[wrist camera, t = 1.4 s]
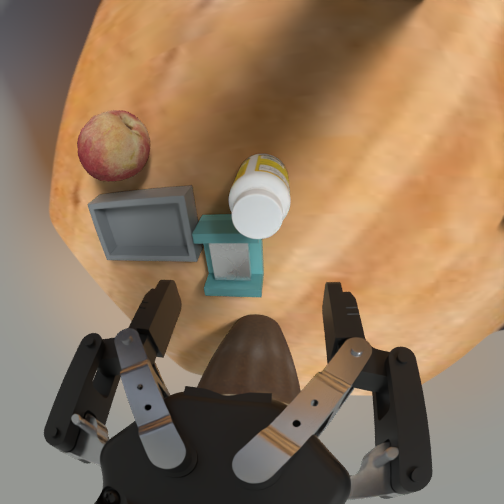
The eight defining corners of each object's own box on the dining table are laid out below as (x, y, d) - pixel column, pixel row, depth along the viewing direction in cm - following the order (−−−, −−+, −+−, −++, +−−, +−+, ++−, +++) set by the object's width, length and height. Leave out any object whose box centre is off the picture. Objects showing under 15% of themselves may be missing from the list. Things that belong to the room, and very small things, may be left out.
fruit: (170, 156, 28) (138, 181, 22) (119, 176, 30) (82, 203, 24) (148, 95, 24) (108, 102, 18) (98, 121, 26) (55, 137, 19)
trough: (99, 194, 32) (87, 204, 29) (192, 185, 30) (184, 195, 28) (116, 247, 37) (107, 259, 34) (202, 247, 35) (197, 261, 33)
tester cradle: (202, 214, 32) (192, 234, 29) (260, 213, 32) (257, 233, 28) (212, 273, 37) (205, 295, 34) (263, 273, 37) (261, 297, 33)
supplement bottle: (247, 203, 31) (234, 252, 23) (232, 159, 28) (211, 194, 20) (293, 193, 30) (298, 239, 22) (281, 147, 27) (282, 176, 19)
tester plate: (210, 236, 31) (208, 241, 30) (248, 236, 31) (247, 241, 30) (216, 274, 34) (215, 279, 34) (251, 275, 34) (250, 280, 33)
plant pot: (195, 327, 45) (171, 411, 32) (248, 279, 37) (231, 383, 24) (262, 362, 49) (255, 439, 36) (321, 326, 42) (328, 418, 29)
